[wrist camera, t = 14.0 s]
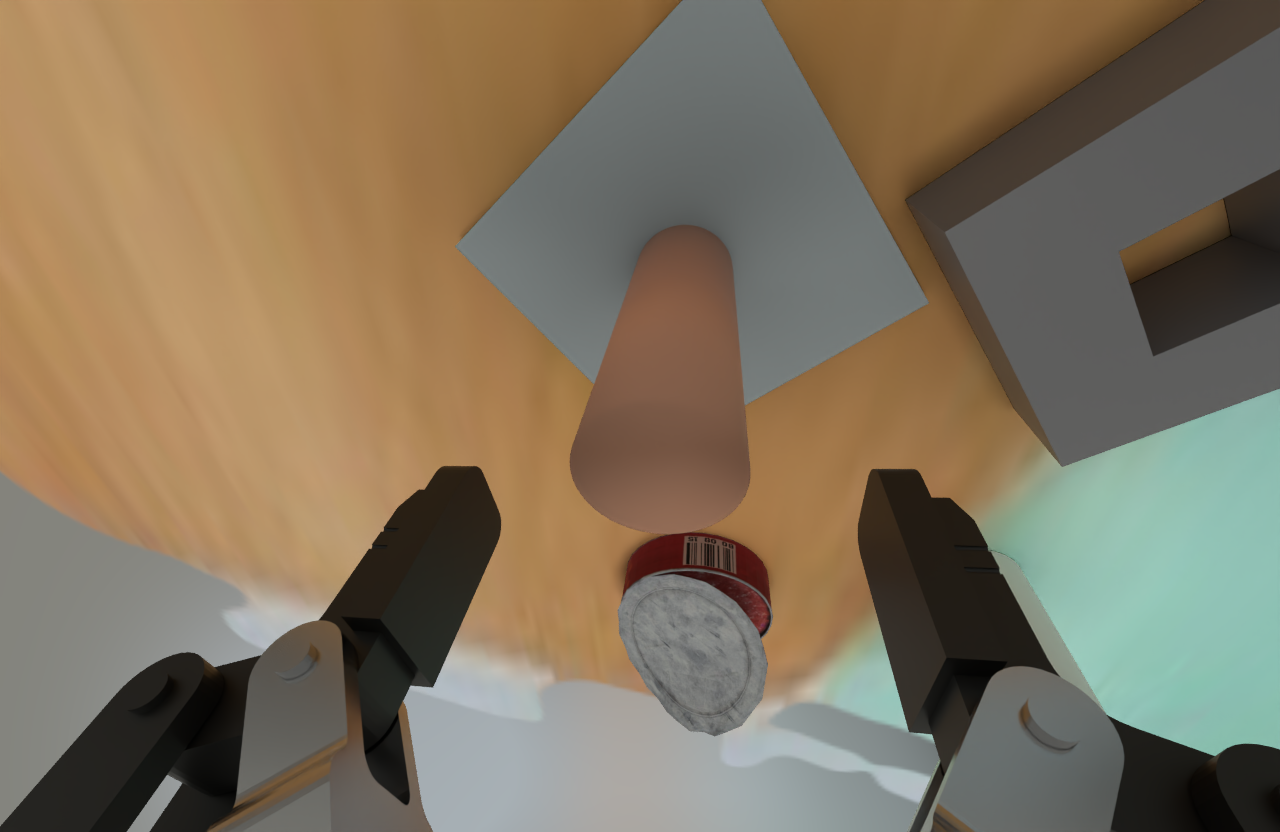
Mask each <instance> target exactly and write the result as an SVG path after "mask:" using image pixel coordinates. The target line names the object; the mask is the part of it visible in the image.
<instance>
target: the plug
mask: <svg viewBox="0 0 1280 832" xmlns="http://www.w3.org/2000/svg"><path fill="white" fill-rule="evenodd" d="M570 470H571V474H572V478H573V481H574V483H575V485H576V487H577V489H578V490H579V492H580V494H581V495H582V496H583V497H584V499H585V500H586V501H587V502H588V503H589V504H590V505H591V506H592V507H593V508H594V509H595V510H597V511H598V512H599V513H601V514H602V515H604V516H605V517H607V518H609V519H610V520H612V521H614V522H616V523H618V524H621V525H623V526H626V527H628V528H632V529H635V530H639V531H644V532H649V533H657V534H679V533H687V532H693V531H696V530H700V529H703V528H706V527H709V526H711V525H713V524H715V523H717V522H719V521H721V520H722V519H724V518H725V517H727V516H728V515H729V514H731V513H732V512H733V511H734V510H735V509H736V508H737V507H738V505H739V504H740V503H741V501H742V500H743V498H744V497H745V495H746V492H747V490H748V487H749V482H750V461H749V449H748V437H747V426H746V414H745V403H744V391H743V379H742V368H741V356H740V345H739V333H738V321H737V310H736V298H735V286H734V275H733V265H732V260H731V256H730V254H729V252H728V249H727V248H726V246H725V245H724V243H723V242H722V241H721V240H720V239H719V238H718V237H717V236H716V235H715V234H713V233H712V232H710V231H708V230H706V229H704V228H701V227H698V226H694V225H676V226H672V227H669V228H666V229H664V230H662V231H660V232H658V233H657V234H656V235H654V236H653V237H652V238H651V239H650V240H649V241H648V242H647V243H646V245H645V246H644V248H643V249H642V251H641V253H640V256H639V258H638V261H637V264H636V267H635V270H634V272H633V275H632V278H631V281H630V284H629V287H628V289H627V292H626V295H625V298H624V301H623V304H622V306H621V309H620V312H619V315H618V318H617V321H616V324H615V326H614V329H613V332H612V335H611V338H610V341H609V343H608V346H607V349H606V352H605V355H604V358H603V360H602V363H601V366H600V369H599V372H598V375H597V378H596V380H595V383H594V386H593V389H592V392H591V395H590V397H589V400H588V403H587V406H586V409H585V412H584V414H583V417H582V420H581V423H580V426H579V429H578V431H577V434H576V437H575V440H574V443H573V446H572V450H571V453H570Z"/></svg>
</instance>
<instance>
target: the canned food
mask: <svg viewBox="0 0 1280 832" xmlns="http://www.w3.org/2000/svg"><path fill="white" fill-rule="evenodd" d="M618 617H619V634H620V636H621V639H622V641H623V643H624V645H625V647H626V650H627V653H628V656H629V659H630V661H631V662H632V664H633V665H634V666H635V668H636V669H637V671H638V672H639V674H640V675H641V677H642V679H643V681H644V683H645V684H646V686H647V687H648V689H649V690H650V691H651V692H652V693H653V694H654V695H655V696H656V697H657V698H658V699H659V701H660V702H661V704H662V705H663V707H664V708H665V710H666V711H667V712H668V713H669V714H670V715H671V716H672V717H673V718H674V719H676V720H677V721H678V722H679V723H680V724H682V725H683V726H684V727H686V728H687V729H688V730H689V731H694V732H706V733H708V734H710V735H713V736H717V735H720V734H723V733H725V732H728V731H730V730H733V729H735V728H737V727H740V726H742V725H743V723H744V722H745V721H746V719H747V718H748V717H749V715H750V714H751V713H752V711H753V710H754V709H755V707H756V706H757V705H758V704H759V702H760V701H761V700H762V696H763V691H764V685H765V679H766V673H767V667H768V663H767V659H766V655H765V651H764V647H763V644H762V641H761V639H762V638H763V637H764V636H765V635H766V634H767V632H768V630H769V628H770V627H771V624H772V618H773V615H772V609H771V600H770V591H769V581H768V574H767V570H766V568H765V566H764V564H763V562H762V561H761V560H760V559H759V558H758V557H757V555H756V554H755V553H753V552H752V551H751V550H749V549H748V548H746V547H745V546H743V545H741V544H739V543H737V542H735V541H733V540H730V539H727V538H724V537H721V536H717V535H711V534H706V533H691V532H687V533H679V534H670V535H665V536H661V537H658V538H656V539H653V540H651V541H648V542H647V543H645V544H644V545H642V546H640V547H639V548H638V549H637V550H636V551H635V552H634V553H633V554H632V556H631V558H630V560H629V561H628V565H627V572H626V578H625V584H624V591H623V597H622V600H621V604H620V606H619V609H618Z"/></svg>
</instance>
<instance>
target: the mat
mask: <svg viewBox="0 0 1280 832" xmlns="http://www.w3.org/2000/svg"><path fill="white" fill-rule="evenodd" d="M676 225H694V226H698V227H701V228H704V229H706V230H708V231H710V232H712V233H713V234H715V235H716V236H717V237H718V238H719V239H720V240H721V241H722V242H723V243H724V245H725V246H726V248H727V249H728V252H729V254H730V256H731V260H732V265H733V275H734V286H735V298H736V310H737V321H738V333H739V345H740V356H741V368H742V379H743V391H744V403H745V405H747V404H748V403H750V402H752V401H754V400H756V399H757V398H759V397H761V396H763V395H764V394H766V393H768V392H770V391H772V390H773V389H775V388H777V387H779V386H781V385H782V384H784V383H786V382H788V381H790V380H791V379H793V378H795V377H797V376H799V375H800V374H802V373H804V372H806V371H808V370H809V369H811V368H813V367H815V366H817V365H818V364H820V363H822V362H824V361H826V360H827V359H829V358H831V357H833V356H835V355H836V354H838V353H840V352H842V351H844V350H845V349H847V348H849V347H851V346H853V345H854V344H856V343H858V342H860V341H862V340H863V339H865V338H867V337H869V336H871V335H872V334H874V333H876V332H878V331H880V330H881V329H883V328H885V327H887V326H889V325H890V324H892V323H894V322H896V321H898V320H899V319H901V318H903V317H905V316H907V315H908V314H910V313H912V312H914V311H916V310H917V309H919V308H921V307H923V306H925V305H926V304H928V303H929V302H928V300H927V298H926V297H925V295H924V293H923V291H922V289H921V288H920V286H919V284H918V282H917V280H916V279H915V277H914V275H913V273H912V271H911V270H910V268H909V266H908V264H907V262H906V260H905V259H904V257H903V255H902V253H901V251H900V250H899V248H898V246H897V244H896V242H895V241H894V239H893V237H892V235H891V233H890V232H889V230H888V228H887V226H886V224H885V223H884V221H883V219H882V217H881V215H880V214H879V212H878V210H877V208H876V206H875V205H874V203H873V201H872V199H871V197H870V196H869V194H868V192H867V190H866V188H865V187H864V185H863V183H862V181H861V179H860V178H859V176H858V174H857V172H856V170H855V169H854V167H853V165H852V163H851V161H850V160H849V158H848V156H847V154H846V152H845V151H844V149H843V147H842V145H841V143H840V142H839V140H838V138H837V136H836V134H835V133H834V131H833V129H832V127H831V125H830V124H829V122H828V120H827V118H826V116H825V114H824V113H823V111H822V109H821V107H820V105H819V104H818V102H817V100H816V98H815V96H814V95H813V93H812V91H811V89H810V87H809V86H808V84H807V82H806V80H805V78H804V77H803V75H802V73H801V71H800V69H799V68H798V66H797V64H796V62H795V60H794V59H793V57H792V55H791V53H790V51H789V50H788V48H787V46H786V44H785V42H784V41H783V39H782V37H781V35H780V33H779V32H778V30H777V28H776V26H775V24H774V23H773V21H772V19H771V17H770V15H769V14H768V12H767V10H766V8H765V6H764V5H763V3H762V1H761V0H682V1H681V2H680V4H679V5H678V6H677V7H676V8H675V9H674V10H673V11H672V12H671V13H670V14H669V15H668V17H667V18H666V19H665V20H664V21H663V22H662V23H661V24H660V25H659V26H658V27H657V28H656V30H655V31H654V32H653V33H652V34H651V35H650V36H649V37H648V38H647V39H646V40H645V41H644V43H643V44H642V45H641V46H640V47H639V48H638V49H637V50H636V51H635V52H634V53H633V54H632V55H631V57H630V58H629V59H628V60H627V61H626V62H625V63H624V64H623V65H622V66H621V67H620V68H619V70H618V71H617V72H616V73H615V74H614V75H613V76H612V77H611V78H610V79H609V80H608V81H607V83H606V84H605V85H604V86H603V87H602V88H601V89H600V90H599V91H598V92H597V93H596V94H595V96H594V97H593V98H592V99H591V100H590V101H589V102H588V103H587V104H586V105H585V106H584V107H583V109H582V110H581V111H580V112H579V113H578V114H577V115H576V116H575V117H574V118H573V119H572V120H571V122H570V123H569V124H568V125H567V126H566V127H565V128H564V129H563V130H562V131H561V132H560V133H559V134H558V136H557V137H556V138H555V139H554V140H553V141H552V142H551V143H550V144H549V145H548V146H547V147H546V149H545V150H544V151H543V152H542V153H541V154H540V155H539V156H538V157H537V158H536V159H535V160H534V162H533V163H532V164H531V165H530V166H529V167H528V168H527V169H526V170H525V171H524V172H523V173H522V175H521V176H520V177H519V178H518V179H517V180H516V181H515V182H514V183H513V184H512V185H511V186H510V188H509V189H508V190H507V191H506V192H505V193H504V194H503V195H502V196H501V197H500V198H499V199H498V201H497V202H496V203H495V204H494V205H493V206H492V207H491V208H490V209H489V210H488V211H487V212H486V213H485V215H484V216H483V217H482V218H481V219H480V220H479V221H478V222H477V223H476V224H475V225H474V226H473V228H472V229H471V230H470V231H469V232H468V233H467V234H466V235H465V236H464V237H463V238H462V239H461V241H460V242H459V243H458V244H457V245H456V246H455V247H456V248H457V249H458V250H459V251H460V252H461V253H462V254H463V255H464V256H465V257H466V258H467V259H468V260H469V261H470V262H471V263H472V264H473V265H474V266H475V267H476V268H477V269H478V270H479V271H480V272H481V273H482V274H483V275H484V276H485V277H486V278H487V279H488V280H489V281H490V282H491V283H492V284H493V285H494V286H495V287H496V288H497V289H498V290H499V291H500V292H501V293H502V294H503V295H504V296H505V297H506V298H507V299H508V300H509V301H510V302H511V303H512V304H513V305H514V306H515V307H516V308H517V309H518V310H520V311H521V312H522V313H523V314H524V315H525V316H526V317H527V318H528V319H529V320H530V321H531V322H532V323H533V324H534V325H535V326H536V327H537V328H538V329H539V330H540V331H541V332H542V333H543V334H544V335H545V336H546V337H547V338H548V339H549V340H550V341H551V342H552V343H553V344H554V345H555V346H556V347H557V348H558V349H559V350H560V351H561V352H562V353H563V354H564V355H565V356H566V357H567V358H568V359H569V360H570V361H571V362H572V363H573V364H574V365H575V366H576V367H577V368H578V369H579V370H580V371H581V372H582V373H583V374H584V375H585V376H586V377H587V378H588V379H589V380H590V381H591V382H592V383H593V384H594V383H595V380H596V378H597V375H598V372H599V369H600V366H601V363H602V360H603V358H604V355H605V352H606V349H607V346H608V343H609V341H610V338H611V335H612V332H613V329H614V326H615V324H616V321H617V318H618V315H619V312H620V309H621V306H622V304H623V301H624V298H625V295H626V292H627V289H628V287H629V284H630V281H631V278H632V275H633V272H634V270H635V267H636V264H637V261H638V258H639V256H640V253H641V251H642V249H643V248H644V246H645V245H646V243H647V242H648V241H649V240H650V239H651V238H652V237H653V236H654V235H656V234H657V233H658V232H660V231H662V230H664V229H666V228H669V227H672V226H676Z"/></svg>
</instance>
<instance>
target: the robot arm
mask: <svg viewBox="0 0 1280 832" xmlns="http://www.w3.org/2000/svg"><path fill="white" fill-rule="evenodd" d="M500 532H501V517H500V513H499V510H498V508H497V506H496V503H495V501H494V498H493V496H492V494H491V491H490V489H489V486H488V484H487V482H486V479H485V477H484V474H483V472H482V470H481V469H480V468H479V467H477V466H443V467H441V468H440V469H438V470H437V472H436V473H435V475H434V476H433V478H432V479H431V481H430V482H429V484H428V485H427V487H426V488H425V490H418V491H417V492H415V493H414V494H413V495H412V496H411V497H410V498H408V499H407V500H406V501H405V502H404V503H402V504H401V505H400V506H399V507H398V508H397V509H396V511H395V512H394V514H393V515H392V517H391V518H390V519H389V521H388V522H387V524H386V525H385V527H384V531H383V532H380V534H379V535H378V537H377V538H376V540H375V541H374V542H373V544H372V549H369V550H368V551H367V553H366V554H365V555H364V557H363V558H362V560H361V561H360V563H359V564H358V566H357V567H356V568H355V570H354V571H353V573H352V574H351V576H350V577H349V579H348V580H347V581H346V583H345V584H344V586H343V587H342V589H341V590H340V591H339V593H338V594H337V596H336V597H335V599H334V600H333V602H332V603H331V604H330V606H329V607H328V609H327V610H326V612H325V613H324V614H323V616H322V617H321V618H320V619H319V620H318V621H312V622H308V623H305V624H302V625H300V626H297V627H296V628H294V629H292V630H290V631H288V632H287V633H285V634H284V635H282V636H281V637H280V638H278V639H277V640H276V641H275V642H274V643H273V644H272V645H270V646H269V647H268V648H267V650H266V651H265V652H264V653H263V654H262V655H260V656H257V657H253V658H249V659H245V660H242V661H237V662H233V663H230V664H226V665H222V666H218V667H213V666H212V665H211V664H209V663H208V662H207V661H205V660H204V659H203V658H202V657H201V656H199V655H198V654H195V653H189V652H187V653H179V654H175V655H172V656H169V657H166V658H164V659H162V660H160V661H158V662H156V663H154V664H153V665H151V666H149V667H147V668H146V669H145V670H143V671H142V672H140V673H139V674H138V675H136V676H135V677H134V678H132V679H131V680H130V681H129V682H128V683H127V684H126V685H125V686H123V688H122V689H121V690H120V691H119V692H118V693H117V694H116V695H115V696H114V697H113V698H112V699H111V701H110V702H109V703H108V704H107V705H106V706H105V707H104V709H103V710H102V711H101V712H100V713H99V714H98V716H97V717H96V718H95V719H94V720H93V721H92V722H91V724H90V725H89V726H88V727H87V728H86V729H85V730H84V731H83V733H82V734H81V735H80V736H79V737H78V738H77V740H76V741H75V742H74V743H73V744H72V745H71V746H70V747H69V749H68V750H67V751H66V752H65V753H64V754H63V755H62V757H61V758H60V759H59V760H58V761H57V762H56V763H55V765H54V766H53V767H52V768H51V769H50V770H49V771H48V773H47V774H46V775H45V776H44V777H43V778H42V779H41V781H40V782H39V783H38V784H37V785H36V786H35V787H34V788H33V790H32V791H31V792H30V793H29V794H28V795H27V796H26V798H25V799H24V800H23V801H22V802H21V803H20V805H19V806H18V807H17V808H16V809H15V810H14V811H13V813H12V814H11V815H10V816H9V817H8V818H7V819H6V820H5V822H4V823H3V824H2V825H1V826H0V832H127V830H128V829H129V828H130V826H131V825H132V823H133V822H134V820H135V819H136V818H137V816H138V815H139V813H140V812H141V811H142V809H143V808H144V806H145V805H146V804H147V802H148V801H149V799H150V798H151V797H152V795H153V793H154V792H155V791H156V789H157V788H158V787H159V785H160V784H161V782H162V781H163V780H164V778H165V777H166V775H169V776H171V777H173V778H174V779H176V780H179V781H180V782H182V785H181V786H180V788H179V789H178V791H177V792H176V794H175V795H174V797H173V798H172V800H171V801H170V803H169V804H168V806H167V807H166V808H165V810H164V811H163V813H162V814H161V816H160V817H159V819H158V820H157V822H156V823H155V825H154V826H153V828H152V829H151V831H150V832H433V831H432V828H431V826H430V825H429V823H428V821H427V818H426V816H425V813H424V810H423V807H422V802H421V797H420V790H419V784H418V777H417V771H416V765H415V758H414V752H413V746H412V740H411V734H410V728H409V721H408V715H407V709H406V706H405V704H404V702H403V700H404V698H405V696H406V694H407V692H408V690H409V687H410V685H411V686H423V687H433V686H434V684H435V682H436V680H437V677H438V675H439V673H440V671H441V668H442V666H443V664H444V662H445V659H446V657H447V655H448V653H449V650H450V648H451V646H452V644H453V641H454V639H455V637H456V635H457V632H458V630H459V628H460V626H461V623H462V621H463V619H464V617H465V614H466V612H467V610H468V608H469V605H470V603H471V601H472V599H473V596H474V594H475V592H476V590H477V587H478V585H479V583H480V581H481V578H482V576H483V574H484V572H485V570H486V567H487V565H488V563H489V561H490V558H491V556H492V554H493V552H494V549H495V547H496V545H497V543H498V540H499V537H500ZM858 544H859V550H860V555H861V559H862V562H863V566H864V570H865V573H866V577H867V580H868V584H869V588H870V591H871V595H872V599H873V602H874V606H875V610H876V613H877V617H878V621H879V624H880V628H881V631H882V635H883V639H884V642H885V646H886V650H887V653H888V657H889V661H890V664H891V668H892V671H893V675H894V679H895V682H896V686H897V690H898V693H899V697H900V701H901V704H902V708H903V712H904V715H905V719H906V722H907V726H908V730H909V732H913V733H924V734H932V735H933V738H934V742H935V745H936V748H937V751H938V755H939V758H940V759H939V761H938V763H937V765H936V767H935V769H934V772H933V774H932V776H931V778H930V781H929V783H928V785H927V787H926V790H925V792H924V794H923V796H922V799H921V801H920V803H919V805H918V808H917V810H916V812H915V814H914V817H913V819H912V821H911V823H910V826H909V828H908V830H907V832H1280V750H1279V749H1276V748H1273V747H1268V746H1263V745H1259V744H1239V745H1234V746H1231V747H1229V748H1227V749H1225V750H1224V751H1222V752H1221V753H1219V754H1218V755H1216V756H1213V755H1210V754H1207V753H1204V752H1201V751H1199V750H1196V749H1193V748H1190V747H1187V746H1184V745H1182V744H1179V743H1176V742H1173V741H1170V740H1168V739H1165V738H1162V737H1159V736H1156V735H1153V734H1151V733H1148V732H1145V731H1142V730H1139V729H1136V728H1134V727H1131V726H1129V725H1126V724H1124V723H1122V722H1119V721H1118V720H1116V719H1114V718H1112V717H1110V716H1108V715H1106V714H1105V712H1104V711H1103V710H1102V709H1101V708H1100V707H1099V706H1098V705H1097V703H1095V702H1094V701H1093V700H1092V699H1091V698H1090V697H1089V696H1088V695H1087V694H1085V693H1084V692H1083V691H1081V690H1080V689H1079V688H1077V687H1076V686H1075V685H1073V684H1071V683H1070V682H1068V681H1066V680H1065V679H1063V678H1061V677H1060V676H1059V675H1058V673H1057V672H1056V671H1055V669H1054V668H1053V666H1052V665H1051V663H1050V661H1049V660H1048V658H1047V656H1046V654H1045V652H1044V650H1043V649H1042V647H1041V645H1040V643H1039V641H1038V639H1037V637H1036V635H1035V634H1034V632H1033V630H1032V628H1031V626H1030V624H1029V622H1028V620H1027V619H1026V617H1025V615H1024V613H1023V611H1022V609H1021V607H1020V605H1019V604H1018V602H1017V600H1016V598H1015V596H1014V594H1013V592H1012V590H1011V589H1010V587H1009V585H1008V583H1007V581H1006V579H1005V577H1004V575H1003V574H1000V571H999V569H1000V568H999V566H998V564H997V562H996V560H995V558H994V557H993V555H992V553H991V551H988V545H987V543H986V542H985V540H984V538H983V536H982V534H981V532H980V530H979V528H978V527H977V525H976V523H975V521H974V520H973V519H972V518H971V517H970V516H969V515H968V514H967V513H966V512H965V511H964V510H962V509H961V508H960V507H959V506H958V505H957V504H956V503H955V502H954V501H953V500H951V499H950V498H931V496H930V493H929V491H928V489H927V487H926V485H925V483H924V480H923V478H922V476H921V474H920V473H919V472H918V471H917V470H915V469H872V470H871V472H870V474H869V477H868V481H867V486H866V490H865V495H864V499H863V504H862V508H861V513H860V518H859V523H858Z"/></svg>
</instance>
